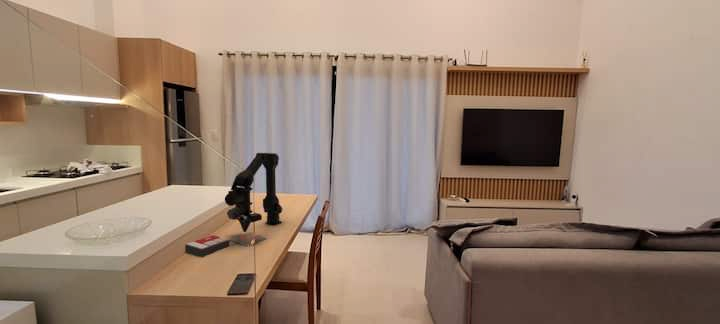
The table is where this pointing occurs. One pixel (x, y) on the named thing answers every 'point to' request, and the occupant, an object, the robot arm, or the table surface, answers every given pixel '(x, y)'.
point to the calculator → (206, 246)
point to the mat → (237, 240)
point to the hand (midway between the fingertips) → (244, 231)
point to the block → (249, 237)
